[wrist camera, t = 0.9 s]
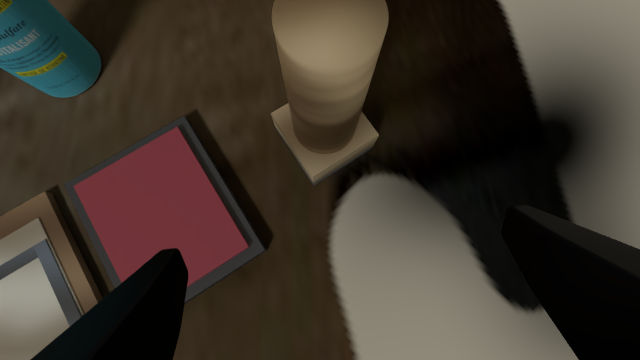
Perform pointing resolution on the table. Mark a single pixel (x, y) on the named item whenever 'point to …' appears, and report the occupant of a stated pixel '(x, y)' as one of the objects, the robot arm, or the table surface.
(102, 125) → the table surface
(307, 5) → the stamp
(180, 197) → the ink pad
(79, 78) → the tube
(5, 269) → the wooden picture frame
